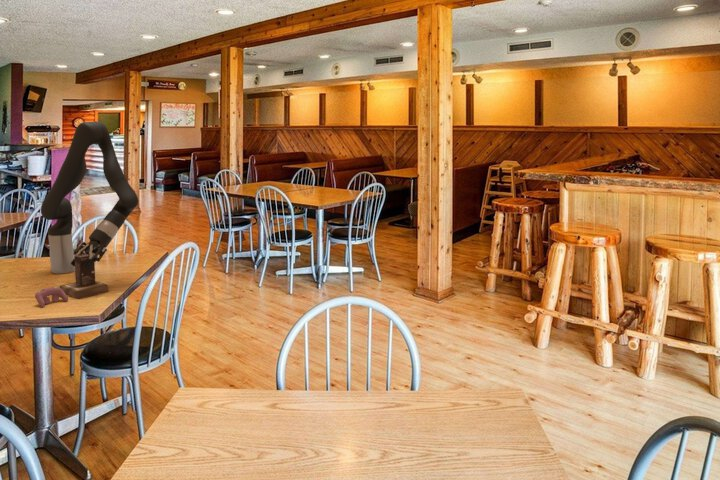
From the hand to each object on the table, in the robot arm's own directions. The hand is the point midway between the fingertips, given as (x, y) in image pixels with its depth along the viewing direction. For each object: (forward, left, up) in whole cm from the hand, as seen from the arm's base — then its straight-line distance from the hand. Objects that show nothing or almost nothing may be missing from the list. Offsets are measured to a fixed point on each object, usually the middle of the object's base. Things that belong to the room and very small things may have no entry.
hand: (78, 266), depth 208 cm
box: (0, +2, -8) cm, 8 cm away
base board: (0, +1, -11) cm, 11 cm away
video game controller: (+3, -13, -11) cm, 17 cm away
